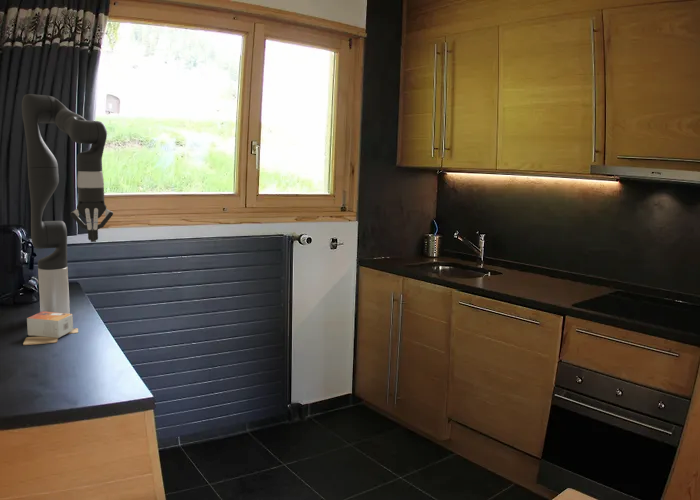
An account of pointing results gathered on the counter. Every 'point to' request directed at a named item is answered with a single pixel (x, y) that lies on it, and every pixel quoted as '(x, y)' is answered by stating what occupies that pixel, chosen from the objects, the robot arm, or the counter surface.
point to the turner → (70, 332)
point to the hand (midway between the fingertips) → (93, 241)
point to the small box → (50, 324)
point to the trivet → (39, 340)
